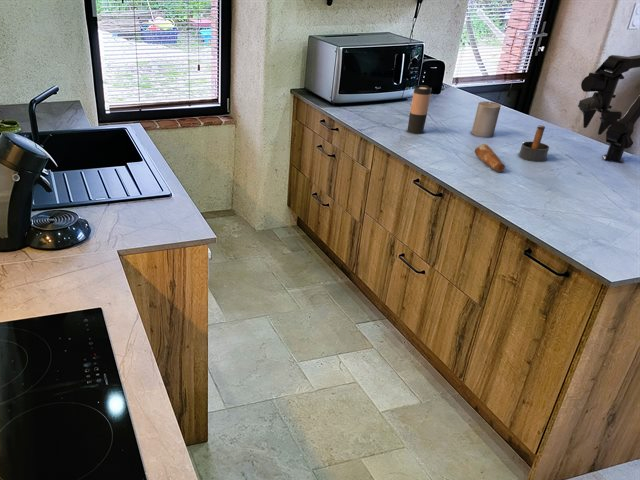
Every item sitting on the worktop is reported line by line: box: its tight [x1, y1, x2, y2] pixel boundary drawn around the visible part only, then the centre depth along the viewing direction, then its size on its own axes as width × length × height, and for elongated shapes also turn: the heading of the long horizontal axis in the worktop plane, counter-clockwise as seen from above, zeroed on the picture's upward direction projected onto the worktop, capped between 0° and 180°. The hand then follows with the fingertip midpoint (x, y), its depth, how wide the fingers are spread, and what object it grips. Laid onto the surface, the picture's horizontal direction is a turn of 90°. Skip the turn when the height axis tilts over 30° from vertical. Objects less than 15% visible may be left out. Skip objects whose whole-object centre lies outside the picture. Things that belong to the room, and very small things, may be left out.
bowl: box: [518, 141, 550, 162], centre depth 247 cm, size 10×10×5 cm
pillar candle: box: [471, 100, 502, 138], centre depth 269 cm, size 10×10×15 cm
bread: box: [474, 143, 505, 173], centre depth 238 cm, size 6×19×6 cm, turn 2°
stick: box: [531, 124, 546, 149], centre depth 244 cm, size 3×3×12 cm
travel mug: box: [407, 84, 432, 135], centre depth 270 cm, size 8×8×20 cm
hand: (591, 131), depth 237 cm, fingers open, 9 cm apart
